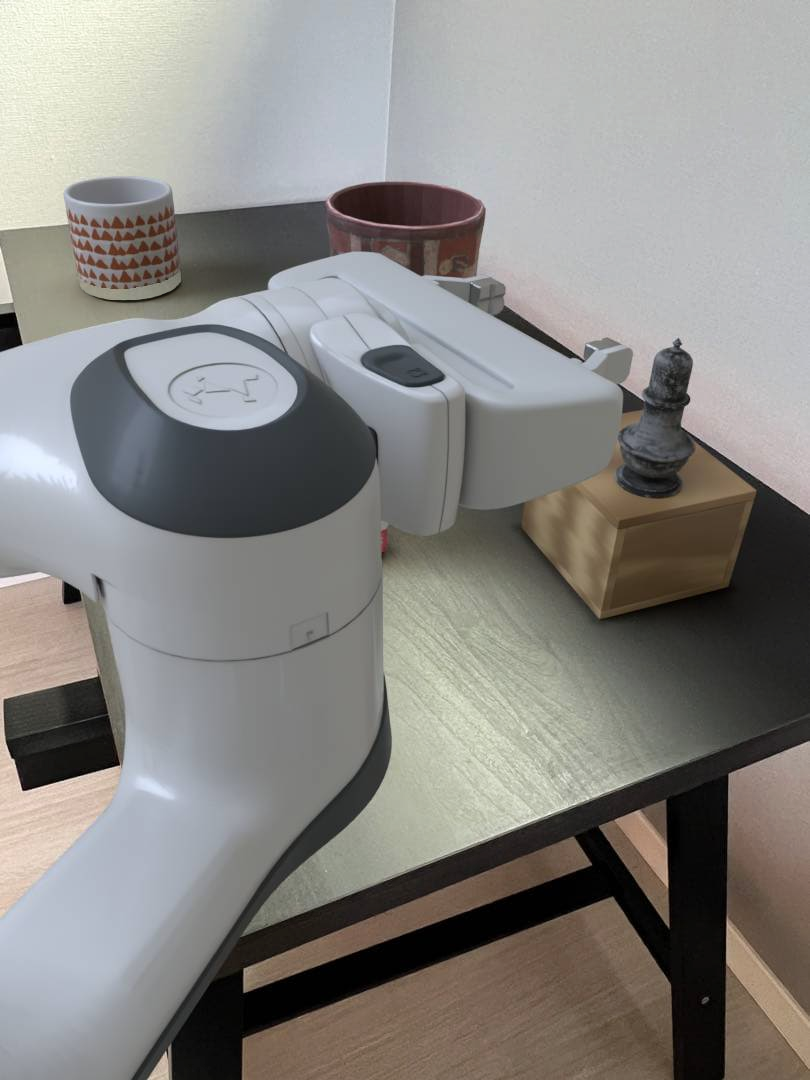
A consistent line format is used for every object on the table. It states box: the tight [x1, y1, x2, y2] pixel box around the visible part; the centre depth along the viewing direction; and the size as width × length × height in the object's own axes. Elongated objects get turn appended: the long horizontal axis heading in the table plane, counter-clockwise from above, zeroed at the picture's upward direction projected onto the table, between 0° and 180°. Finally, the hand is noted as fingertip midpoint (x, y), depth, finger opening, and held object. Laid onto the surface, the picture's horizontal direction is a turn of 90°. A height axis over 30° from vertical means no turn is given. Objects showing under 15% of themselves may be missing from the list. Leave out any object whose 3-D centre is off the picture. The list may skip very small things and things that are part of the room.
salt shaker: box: [614, 337, 695, 499], centre depth 71 cm, size 6×6×12 cm
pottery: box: [324, 180, 487, 279], centre depth 110 cm, size 18×18×18 cm
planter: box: [63, 175, 181, 289], centre depth 127 cm, size 14×14×13 cm
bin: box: [521, 485, 755, 620], centre depth 80 cm, size 14×13×9 cm
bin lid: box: [574, 409, 757, 529], centre depth 78 cm, size 14×13×1 cm
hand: (554, 323), depth 48 cm, fingers open, 8 cm apart
